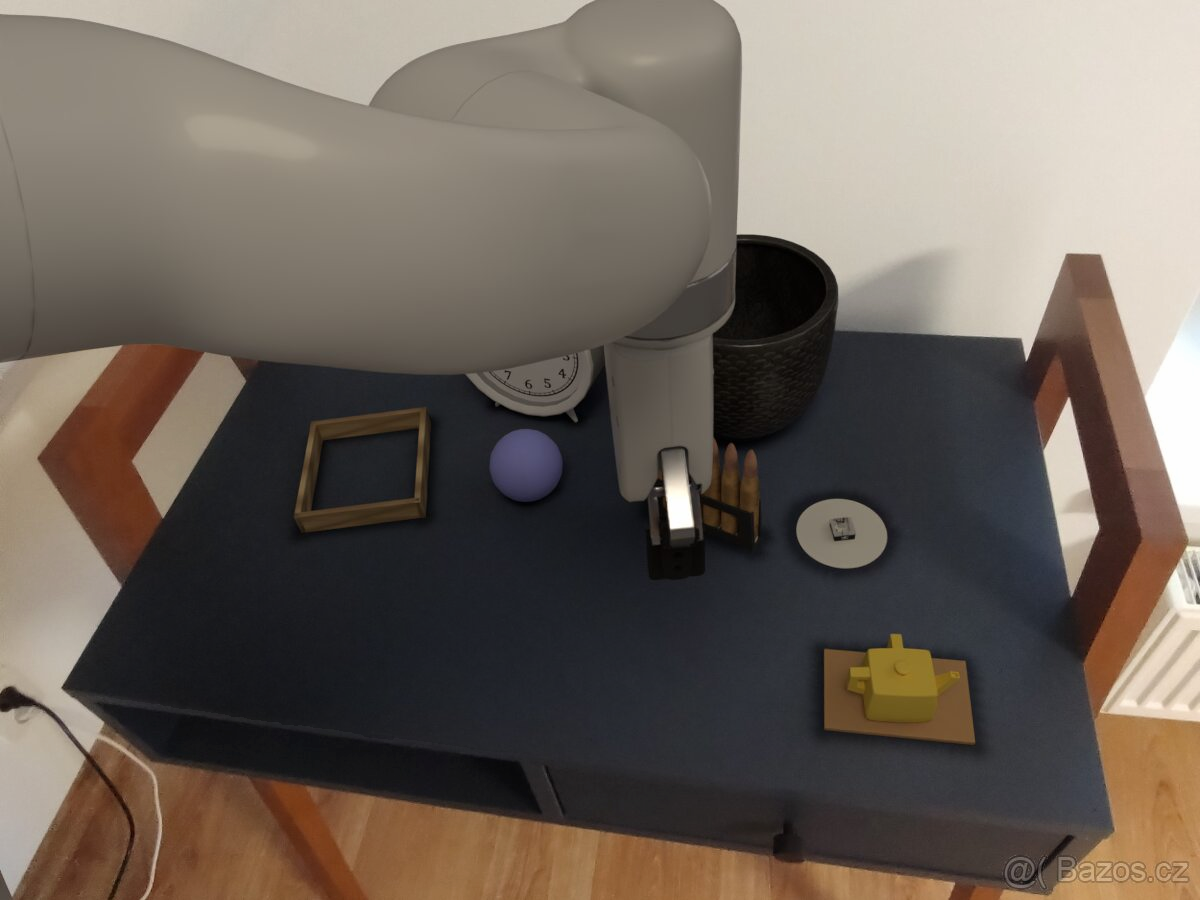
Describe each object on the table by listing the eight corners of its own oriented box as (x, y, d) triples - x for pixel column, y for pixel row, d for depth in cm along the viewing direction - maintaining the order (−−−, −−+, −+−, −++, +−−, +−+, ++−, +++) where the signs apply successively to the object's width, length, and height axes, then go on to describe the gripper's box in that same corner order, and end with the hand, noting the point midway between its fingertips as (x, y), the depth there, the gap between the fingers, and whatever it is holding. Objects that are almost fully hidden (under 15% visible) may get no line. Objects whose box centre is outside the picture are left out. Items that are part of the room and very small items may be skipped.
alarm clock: (460, 410, 101) (411, 237, 85) (494, 359, 106) (454, 187, 90) (602, 439, 96) (579, 261, 80) (630, 384, 101) (613, 206, 85)
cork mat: (974, 745, 70) (975, 742, 70) (823, 730, 72) (824, 727, 72) (964, 663, 75) (965, 660, 74) (823, 651, 77) (823, 648, 76)
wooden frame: (425, 517, 91) (420, 501, 89) (301, 533, 91) (293, 517, 89) (431, 422, 100) (426, 406, 98) (318, 437, 100) (311, 421, 98)
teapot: (942, 662, 75) (954, 626, 71) (955, 729, 71) (968, 695, 67) (840, 659, 76) (846, 624, 72) (846, 726, 72) (853, 692, 68)
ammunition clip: (649, 511, 89) (641, 421, 80) (658, 497, 90) (651, 407, 81) (753, 551, 84) (757, 461, 76) (762, 536, 85) (766, 446, 77)
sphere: (505, 461, 95) (493, 411, 90) (572, 465, 94) (564, 415, 89) (488, 514, 90) (474, 465, 85) (559, 519, 89) (549, 470, 84)
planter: (818, 483, 89) (832, 355, 78) (641, 463, 93) (630, 339, 81) (831, 364, 100) (845, 237, 89) (673, 351, 104) (666, 228, 93)
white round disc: (806, 572, 82) (807, 563, 81) (788, 503, 88) (789, 494, 87) (897, 563, 82) (899, 554, 81) (874, 494, 87) (875, 485, 86)
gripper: (570, 191, 51) (596, 419, 63) (589, 406, 39) (616, 636, 51) (707, 177, 51) (706, 407, 63) (770, 388, 39) (753, 623, 51)
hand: (666, 509), depth 57 cm, fingers open, 9 cm apart
